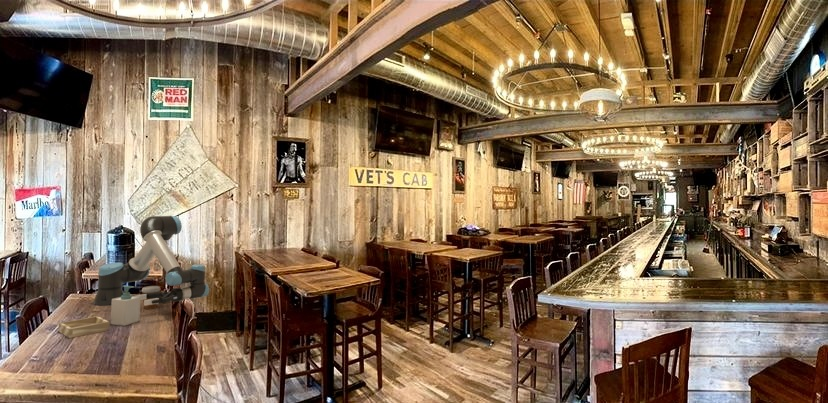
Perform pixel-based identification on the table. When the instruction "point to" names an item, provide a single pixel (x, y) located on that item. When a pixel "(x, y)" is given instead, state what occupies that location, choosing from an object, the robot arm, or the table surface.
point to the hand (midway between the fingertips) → (138, 300)
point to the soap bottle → (125, 308)
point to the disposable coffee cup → (150, 290)
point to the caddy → (83, 326)
